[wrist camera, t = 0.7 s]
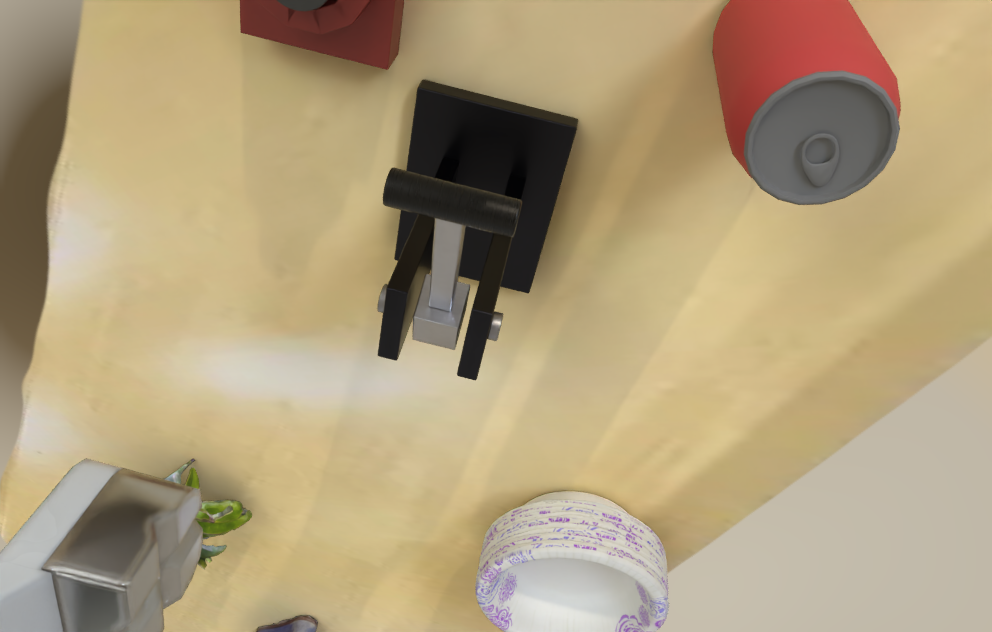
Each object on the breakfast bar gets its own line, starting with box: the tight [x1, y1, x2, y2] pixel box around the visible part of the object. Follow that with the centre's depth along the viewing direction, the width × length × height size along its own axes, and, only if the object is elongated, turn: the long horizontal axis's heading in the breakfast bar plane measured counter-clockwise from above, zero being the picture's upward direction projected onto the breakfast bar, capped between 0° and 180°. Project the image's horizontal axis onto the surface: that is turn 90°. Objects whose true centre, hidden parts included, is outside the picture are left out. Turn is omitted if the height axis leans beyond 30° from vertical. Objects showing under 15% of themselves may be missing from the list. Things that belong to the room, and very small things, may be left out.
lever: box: [383, 168, 522, 350], centre depth 34 cm, size 12×5×2 cm, turn 169°
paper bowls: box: [476, 491, 669, 632], centre depth 63 cm, size 15×15×8 cm
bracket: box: [378, 80, 578, 380], centre depth 42 cm, size 12×9×14 cm
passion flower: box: [164, 459, 252, 569], centre depth 68 cm, size 11×11×12 cm
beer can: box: [713, 0, 901, 205], centre depth 34 cm, size 7×7×12 cm
